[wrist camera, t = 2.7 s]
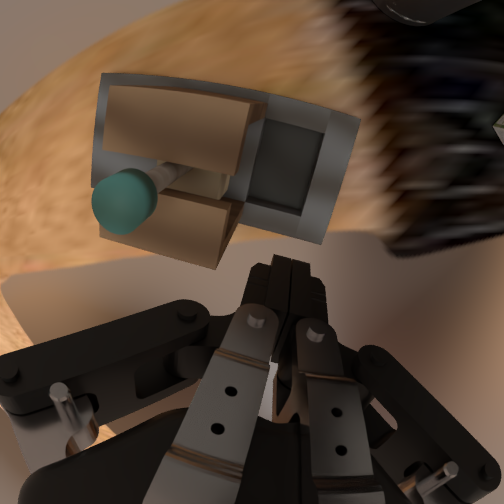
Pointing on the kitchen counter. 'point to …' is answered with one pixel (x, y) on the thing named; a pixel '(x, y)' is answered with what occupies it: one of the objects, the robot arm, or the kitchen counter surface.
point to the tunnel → (221, 160)
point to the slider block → (149, 192)
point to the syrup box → (500, 128)
